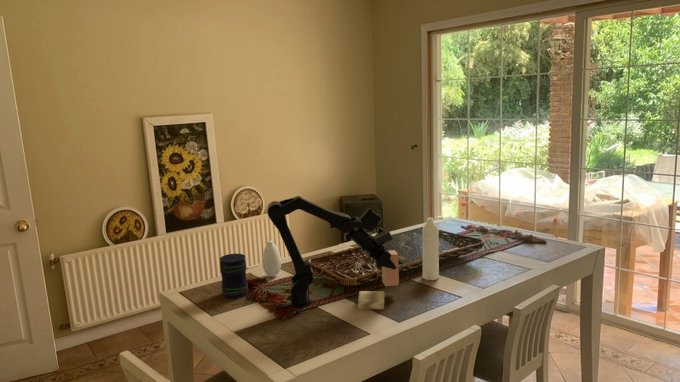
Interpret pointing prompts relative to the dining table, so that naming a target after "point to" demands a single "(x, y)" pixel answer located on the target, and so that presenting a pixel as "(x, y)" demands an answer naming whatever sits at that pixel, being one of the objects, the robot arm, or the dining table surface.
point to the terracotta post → (391, 271)
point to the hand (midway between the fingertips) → (393, 266)
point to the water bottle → (430, 249)
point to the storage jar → (233, 276)
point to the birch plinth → (371, 300)
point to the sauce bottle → (271, 259)
